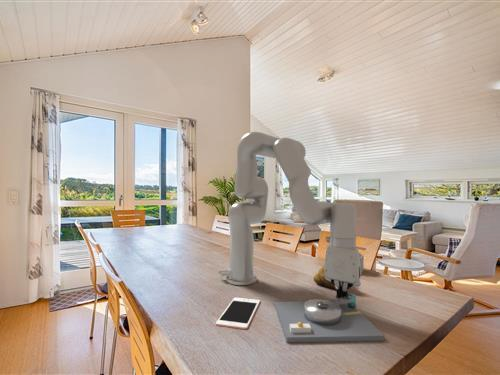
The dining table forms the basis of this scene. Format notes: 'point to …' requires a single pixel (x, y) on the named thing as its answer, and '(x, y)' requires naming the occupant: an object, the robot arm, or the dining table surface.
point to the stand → (307, 331)
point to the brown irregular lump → (323, 279)
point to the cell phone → (238, 313)
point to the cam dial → (327, 309)
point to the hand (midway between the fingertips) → (342, 301)
